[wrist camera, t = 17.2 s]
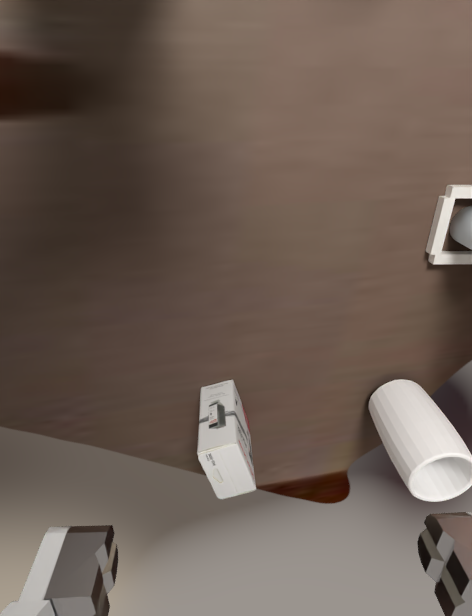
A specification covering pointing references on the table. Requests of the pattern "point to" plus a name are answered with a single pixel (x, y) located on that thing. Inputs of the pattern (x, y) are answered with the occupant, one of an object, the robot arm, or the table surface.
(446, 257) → the white square frame
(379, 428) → the cup
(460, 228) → the canister
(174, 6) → the table surface
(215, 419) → the ink box
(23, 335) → the table surface
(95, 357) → the table surface
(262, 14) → the table surface
